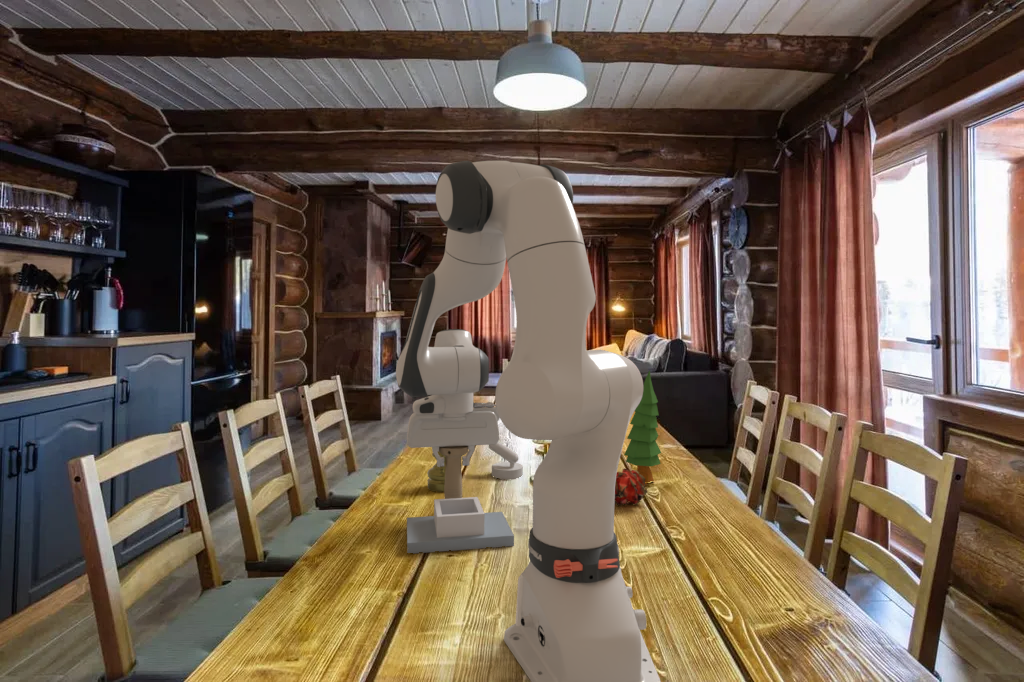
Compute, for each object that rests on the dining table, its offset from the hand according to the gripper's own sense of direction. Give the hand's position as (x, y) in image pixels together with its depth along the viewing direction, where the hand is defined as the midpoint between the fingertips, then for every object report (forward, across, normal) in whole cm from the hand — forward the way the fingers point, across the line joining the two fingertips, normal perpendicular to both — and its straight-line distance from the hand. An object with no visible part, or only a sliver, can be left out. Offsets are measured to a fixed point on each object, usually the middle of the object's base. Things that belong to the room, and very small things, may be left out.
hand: (453, 465), depth 120 cm
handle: (+11, 0, 0) cm, 11 cm away
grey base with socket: (+11, 0, +12) cm, 16 cm away
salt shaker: (+11, +1, -19) cm, 22 cm away
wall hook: (+11, -17, -28) cm, 35 cm away
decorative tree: (+11, -52, -16) cm, 56 cm away
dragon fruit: (+11, -41, 0) cm, 42 cm away
